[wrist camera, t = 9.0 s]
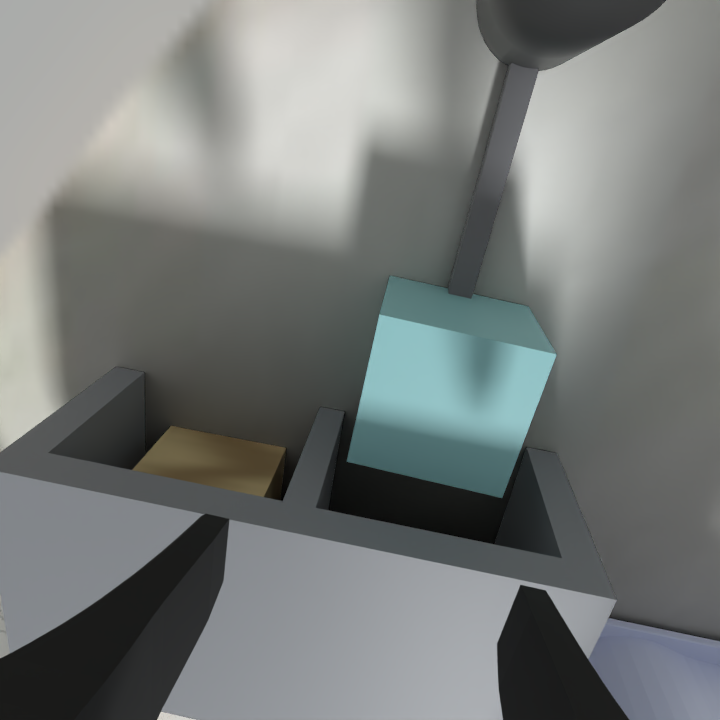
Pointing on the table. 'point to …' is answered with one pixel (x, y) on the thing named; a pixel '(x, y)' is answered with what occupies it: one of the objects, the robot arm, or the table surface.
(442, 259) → the table surface
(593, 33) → the block
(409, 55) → the table surface
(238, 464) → the ochre block
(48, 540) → the cubby shelf
